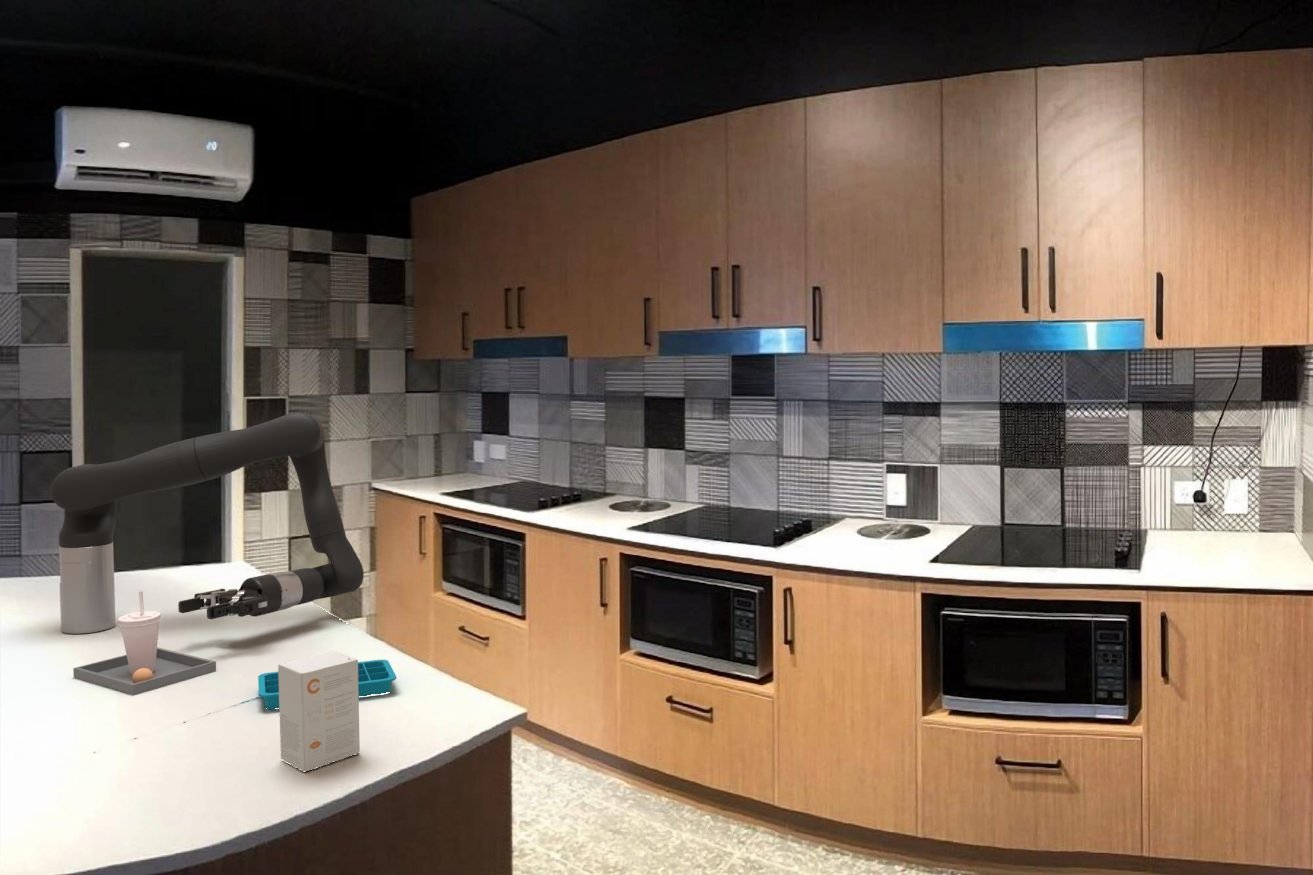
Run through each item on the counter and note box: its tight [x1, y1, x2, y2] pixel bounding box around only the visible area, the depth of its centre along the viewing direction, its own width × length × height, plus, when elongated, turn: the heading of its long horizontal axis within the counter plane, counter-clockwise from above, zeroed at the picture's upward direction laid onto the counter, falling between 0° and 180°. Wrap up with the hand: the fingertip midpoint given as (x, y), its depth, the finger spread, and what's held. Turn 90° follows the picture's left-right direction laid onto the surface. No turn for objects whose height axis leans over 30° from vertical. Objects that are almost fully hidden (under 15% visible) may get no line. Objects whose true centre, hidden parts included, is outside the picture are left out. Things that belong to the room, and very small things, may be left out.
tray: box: [72, 646, 217, 696], centre depth 152 cm, size 17×14×2 cm
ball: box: [132, 668, 153, 683], centre depth 145 cm, size 3×3×3 cm
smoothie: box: [117, 590, 162, 675], centre depth 152 cm, size 6×6×14 cm
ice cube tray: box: [257, 659, 397, 709], centre depth 144 cm, size 12×20×3 cm, turn 115°
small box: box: [277, 650, 361, 772], centre depth 118 cm, size 8×6×13 cm
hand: (193, 610), depth 162 cm, fingers open, 8 cm apart
